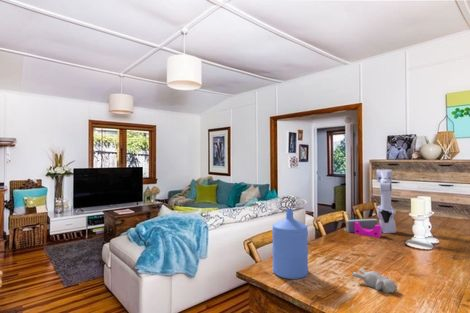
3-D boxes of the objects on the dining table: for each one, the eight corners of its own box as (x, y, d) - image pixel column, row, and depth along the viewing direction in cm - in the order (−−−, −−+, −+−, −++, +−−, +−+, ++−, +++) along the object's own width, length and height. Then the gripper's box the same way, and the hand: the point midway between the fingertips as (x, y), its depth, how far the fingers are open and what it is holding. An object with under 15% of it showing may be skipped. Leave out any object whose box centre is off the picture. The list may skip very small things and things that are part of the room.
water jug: (301, 283, 109) (301, 214, 110) (266, 274, 118) (266, 210, 118) (312, 269, 123) (312, 208, 123) (280, 262, 131) (280, 205, 131)
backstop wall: (371, 228, 193) (371, 217, 193) (377, 230, 187) (377, 219, 187) (343, 230, 190) (343, 219, 190) (348, 232, 184) (348, 221, 184)
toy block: (381, 235, 176) (381, 224, 176) (379, 238, 171) (379, 226, 171) (357, 232, 185) (357, 221, 185) (354, 234, 180) (354, 222, 180)
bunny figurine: (390, 286, 98) (351, 268, 110) (388, 300, 98) (349, 280, 110) (400, 279, 103) (362, 263, 115) (399, 292, 104) (361, 274, 116)
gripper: (372, 200, 178) (373, 220, 178) (388, 203, 164) (388, 225, 164) (382, 199, 180) (382, 219, 179) (398, 203, 165) (399, 225, 165)
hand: (386, 222), depth 172 cm, fingers closed
